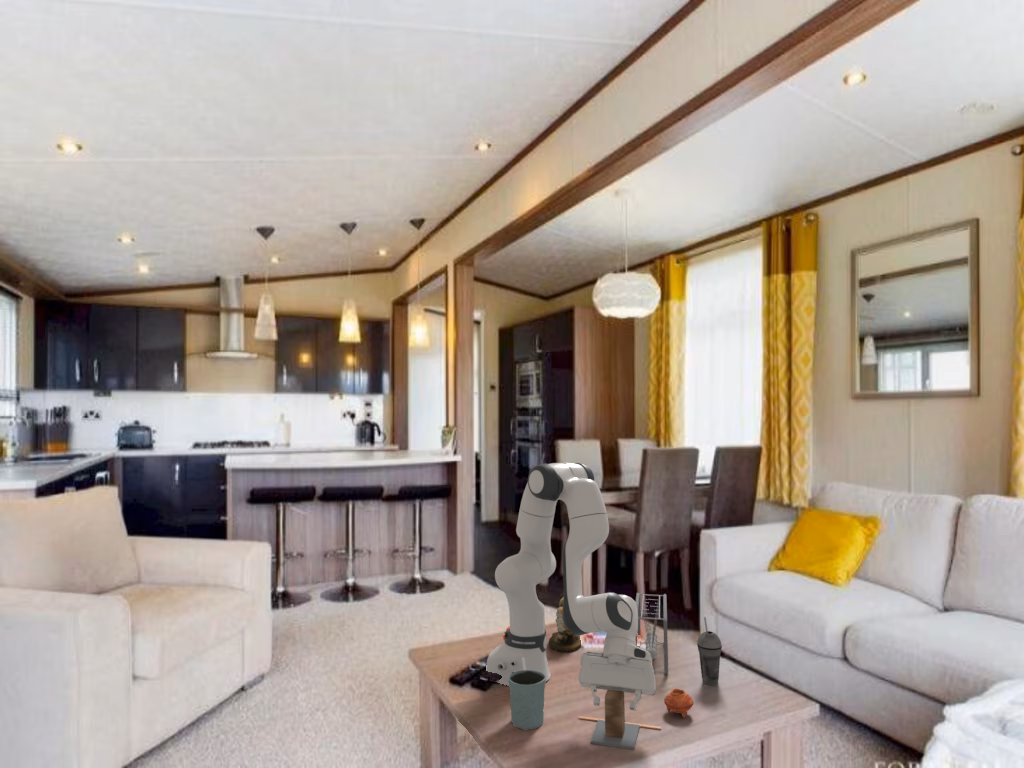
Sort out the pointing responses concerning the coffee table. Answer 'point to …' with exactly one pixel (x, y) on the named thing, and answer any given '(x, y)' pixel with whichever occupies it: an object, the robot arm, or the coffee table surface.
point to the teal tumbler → (527, 698)
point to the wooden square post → (614, 714)
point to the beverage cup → (709, 656)
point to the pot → (678, 701)
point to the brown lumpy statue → (563, 635)
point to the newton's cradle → (654, 629)
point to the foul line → (625, 722)
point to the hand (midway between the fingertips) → (614, 707)
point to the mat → (625, 742)
